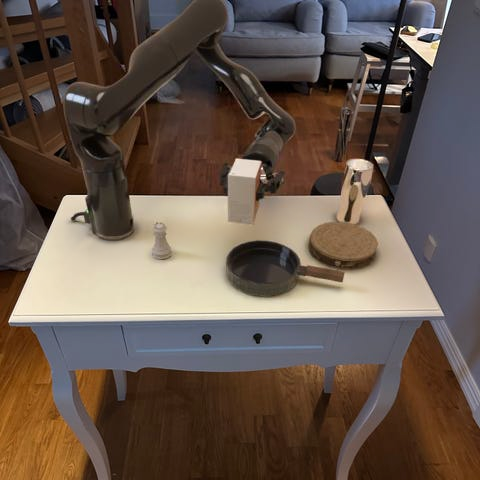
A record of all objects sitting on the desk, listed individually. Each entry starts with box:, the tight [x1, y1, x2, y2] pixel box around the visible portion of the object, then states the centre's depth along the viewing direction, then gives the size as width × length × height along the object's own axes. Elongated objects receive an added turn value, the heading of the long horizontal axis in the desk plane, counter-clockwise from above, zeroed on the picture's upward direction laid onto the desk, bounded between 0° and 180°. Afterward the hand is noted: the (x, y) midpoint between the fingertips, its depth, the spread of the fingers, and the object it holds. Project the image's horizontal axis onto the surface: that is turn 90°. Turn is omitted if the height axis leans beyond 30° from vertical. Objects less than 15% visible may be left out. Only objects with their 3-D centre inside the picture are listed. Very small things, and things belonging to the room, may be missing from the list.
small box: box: [227, 158, 262, 226], centre depth 93 cm, size 8×6×10 cm
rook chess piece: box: [151, 221, 173, 260], centre depth 102 cm, size 4×4×8 cm
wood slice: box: [308, 221, 379, 271], centre depth 107 cm, size 16×16×3 cm
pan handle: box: [298, 264, 346, 283], centre depth 96 cm, size 10×2×2 cm, turn 74°
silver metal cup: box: [335, 158, 374, 225], centre depth 114 cm, size 7×7×15 cm
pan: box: [225, 239, 302, 297], centre depth 99 cm, size 16×16×4 cm
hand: (241, 194), depth 90 cm, fingers closed on small box, 6 cm apart
